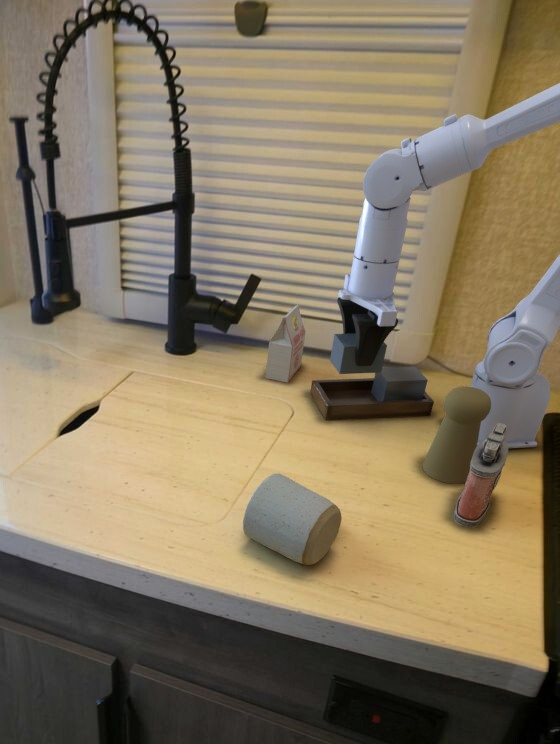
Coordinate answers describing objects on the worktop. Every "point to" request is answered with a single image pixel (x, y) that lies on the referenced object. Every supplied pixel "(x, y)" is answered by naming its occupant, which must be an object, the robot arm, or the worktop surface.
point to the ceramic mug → (291, 519)
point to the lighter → (482, 478)
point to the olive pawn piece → (457, 435)
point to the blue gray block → (352, 356)
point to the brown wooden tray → (374, 395)
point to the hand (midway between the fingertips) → (357, 357)
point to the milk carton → (286, 347)
